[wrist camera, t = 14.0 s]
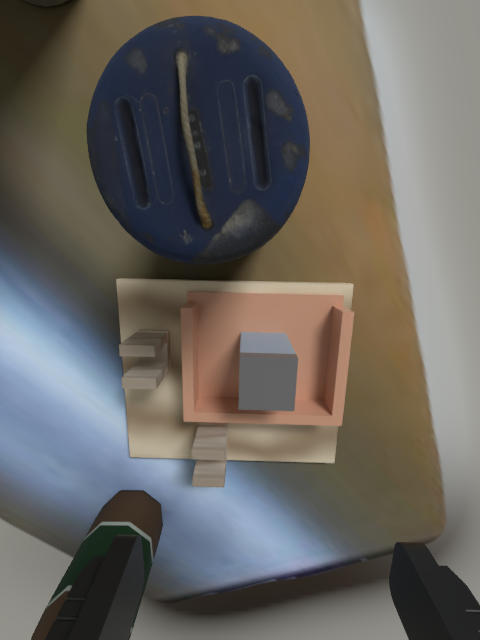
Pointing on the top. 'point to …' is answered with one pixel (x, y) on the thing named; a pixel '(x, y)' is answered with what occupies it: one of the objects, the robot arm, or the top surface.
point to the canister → (198, 140)
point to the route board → (167, 385)
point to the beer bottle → (114, 519)
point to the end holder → (270, 317)
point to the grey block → (267, 372)
